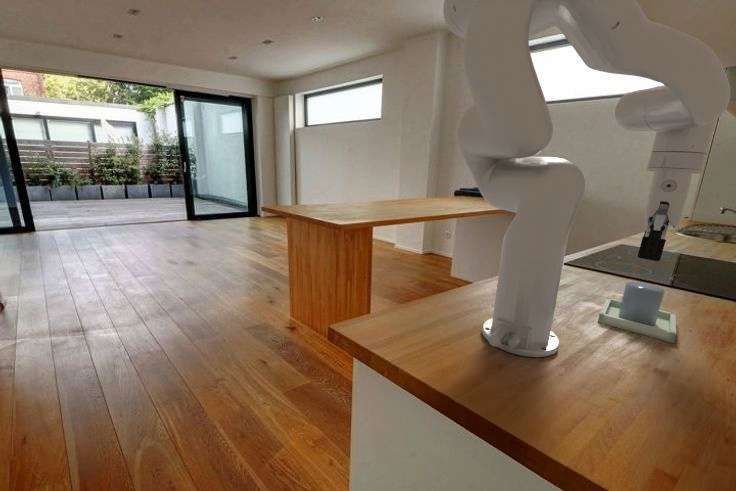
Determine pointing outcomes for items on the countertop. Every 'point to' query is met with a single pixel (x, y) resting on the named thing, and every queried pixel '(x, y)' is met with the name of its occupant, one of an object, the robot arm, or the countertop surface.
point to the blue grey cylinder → (641, 303)
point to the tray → (661, 330)
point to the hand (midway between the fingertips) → (649, 255)
